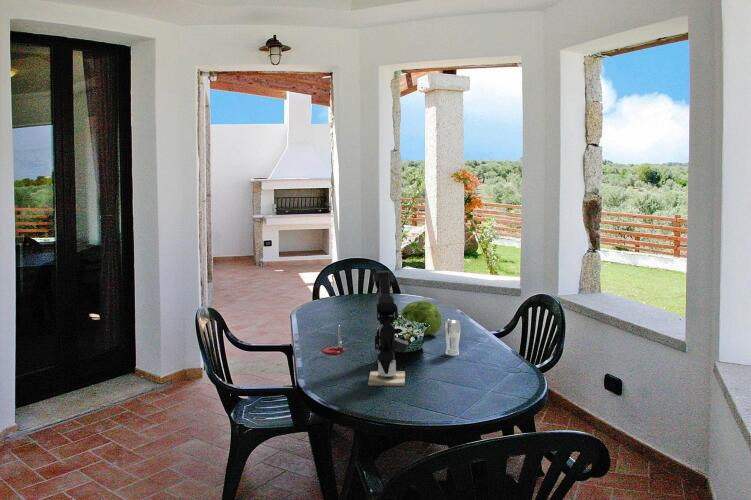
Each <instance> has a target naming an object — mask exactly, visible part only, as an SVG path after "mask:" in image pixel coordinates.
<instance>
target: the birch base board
mask: <svg viewBox="0 0 751 500" xmlns="http://www.w3.org/2000/svg"><path fill="white" fill-rule="evenodd" d="M405 378H406V371H404V370H402V371H401V370H400V371H399V370H396V375H393V376H390V377H389V378H385V377H384V376H381V375H378V370H370V372H369V377H368V383H367V385H368V386H383V385H384V387H385V386H386V387H387V386H393V387H395V386H399V387H401V386H405V382H406V381H405V380H406V379H405Z"/></svg>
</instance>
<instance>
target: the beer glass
mask: <svg viewBox="0 0 751 500" xmlns="http://www.w3.org/2000/svg"><path fill="white" fill-rule="evenodd" d="M444 336H445V337H444V338H445V342H446V343H445V344H446V348H445V349H446V350H445V355H446V356H451V357H457V356H459V355H460V348H459V345H460V344H459V343H460V339H461V321H460V320H458V319H446V320H445V321H444Z"/></svg>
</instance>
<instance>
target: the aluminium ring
mask: <svg viewBox="0 0 751 500" xmlns="http://www.w3.org/2000/svg"><path fill="white" fill-rule="evenodd" d="M377 365H378V366H377V371H378V375H381V376H393V375H396V371H397V368H396V367H397V366H396V359H394V360H392V361H391V362H390V366H389V371H388V374H385V372H384V370H383V368H382V366H381V363H380V361H379V360H378V364H377Z"/></svg>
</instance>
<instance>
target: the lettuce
mask: <svg viewBox="0 0 751 500" xmlns="http://www.w3.org/2000/svg"><path fill="white" fill-rule="evenodd" d="M399 315H402V316H403V317H404V318H405V319H407V320H411V321H416V322H419V323H426V324H429V325H430V326H429V328H427V329H426V330H425V332H424V336H428V335H429V336H430V335H434V334H437V333H438V332H439V330H441V328H442V325H443V317H442V314H441V312H440V310H439V308H437V306H436V305H434V304H433V302H431V301H426V300H414V301H413V302H410V303H408V304H406V305H405V307H404V308H403V309H402V310H401V312H400V314H399ZM424 336H423V337H424Z"/></svg>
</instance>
